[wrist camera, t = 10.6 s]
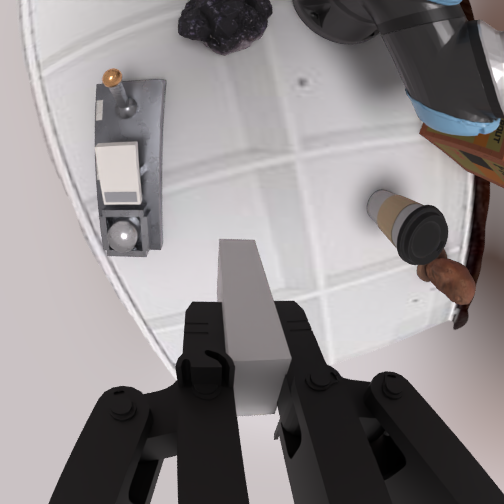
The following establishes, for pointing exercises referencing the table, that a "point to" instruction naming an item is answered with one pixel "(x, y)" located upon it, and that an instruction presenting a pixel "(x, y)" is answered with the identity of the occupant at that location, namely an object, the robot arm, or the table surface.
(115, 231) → the button
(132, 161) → the plate
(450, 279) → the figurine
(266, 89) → the table surface
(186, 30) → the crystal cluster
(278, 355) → the robot arm
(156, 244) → the panel
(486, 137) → the box
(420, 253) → the coffee cup
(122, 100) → the toggle
